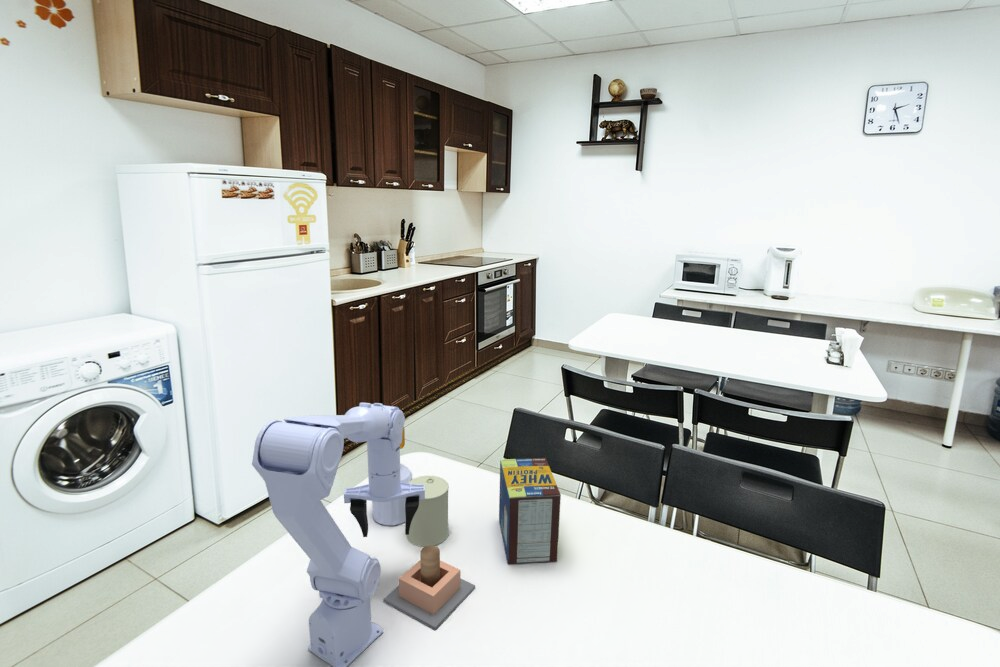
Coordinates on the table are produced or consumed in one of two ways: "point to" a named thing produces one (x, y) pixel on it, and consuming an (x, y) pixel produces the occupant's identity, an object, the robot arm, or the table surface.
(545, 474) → the protein box
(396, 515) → the soap bottle
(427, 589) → the terracotta holder
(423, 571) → the walnut peg
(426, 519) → the can
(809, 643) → the table surface
